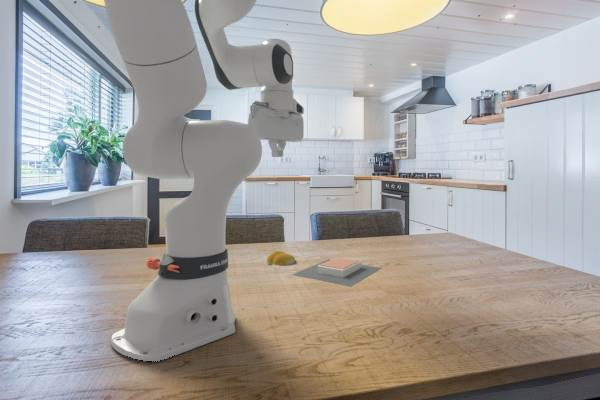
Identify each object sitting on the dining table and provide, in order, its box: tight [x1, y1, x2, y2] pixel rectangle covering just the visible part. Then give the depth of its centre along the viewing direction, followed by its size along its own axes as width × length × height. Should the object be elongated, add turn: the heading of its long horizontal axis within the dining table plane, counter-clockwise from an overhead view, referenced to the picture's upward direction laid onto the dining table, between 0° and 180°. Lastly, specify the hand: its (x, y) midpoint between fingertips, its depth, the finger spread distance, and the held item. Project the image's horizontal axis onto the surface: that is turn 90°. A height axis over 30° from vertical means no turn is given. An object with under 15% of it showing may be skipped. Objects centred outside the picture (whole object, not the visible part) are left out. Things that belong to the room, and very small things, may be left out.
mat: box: [291, 258, 382, 287], centre depth 103 cm, size 20×18×1 cm
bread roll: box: [266, 250, 296, 266], centre depth 114 cm, size 8×9×4 cm
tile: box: [317, 256, 363, 278], centre depth 104 cm, size 2×8×12 cm
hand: (277, 157), depth 99 cm, fingers closed
